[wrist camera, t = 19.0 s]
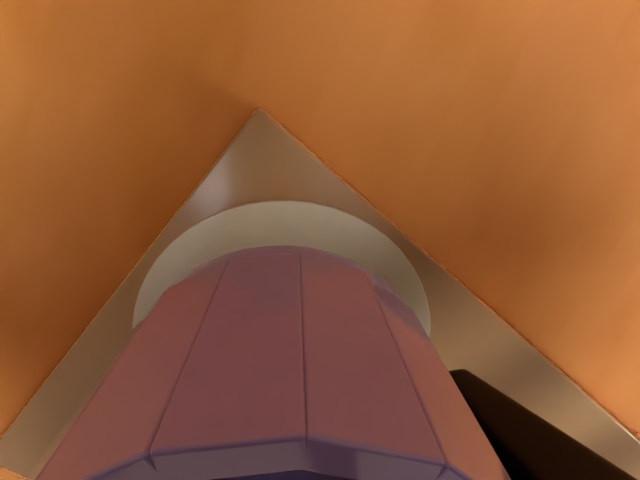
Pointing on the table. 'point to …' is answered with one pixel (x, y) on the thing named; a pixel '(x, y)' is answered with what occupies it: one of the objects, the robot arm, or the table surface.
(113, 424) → the dish
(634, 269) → the table surface
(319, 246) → the placemat
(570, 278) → the table surface
